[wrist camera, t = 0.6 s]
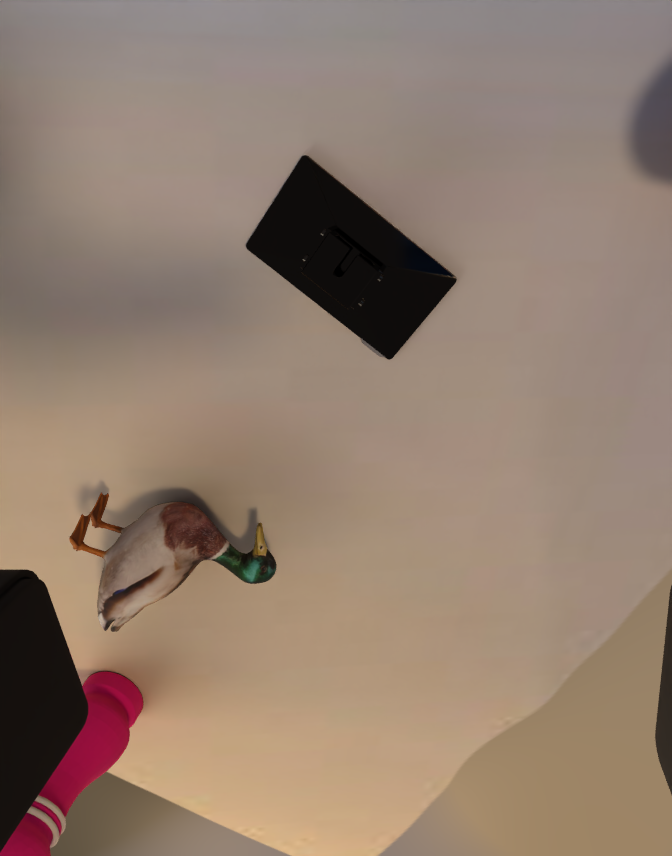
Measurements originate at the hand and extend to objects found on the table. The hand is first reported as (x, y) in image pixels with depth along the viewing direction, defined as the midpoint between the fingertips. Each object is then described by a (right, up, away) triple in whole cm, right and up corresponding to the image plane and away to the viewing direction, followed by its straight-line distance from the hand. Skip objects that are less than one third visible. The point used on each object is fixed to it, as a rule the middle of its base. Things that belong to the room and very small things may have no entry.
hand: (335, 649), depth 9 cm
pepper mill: (-22, -23, +50) cm, 60 cm away
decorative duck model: (-13, -7, +42) cm, 44 cm away
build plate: (+1, +14, +30) cm, 33 cm away
